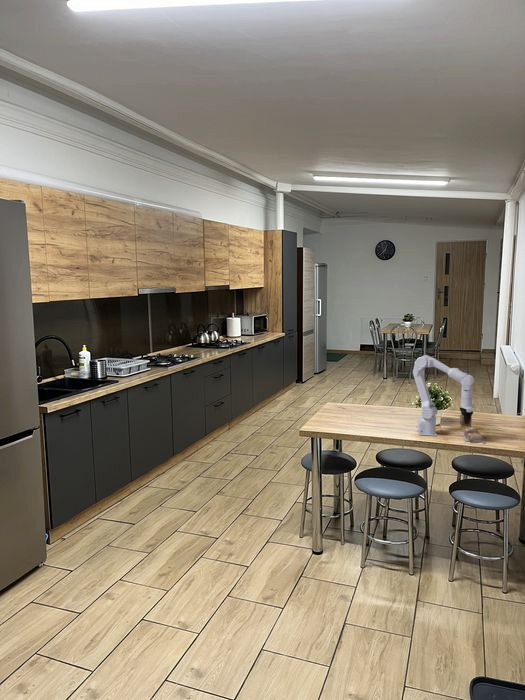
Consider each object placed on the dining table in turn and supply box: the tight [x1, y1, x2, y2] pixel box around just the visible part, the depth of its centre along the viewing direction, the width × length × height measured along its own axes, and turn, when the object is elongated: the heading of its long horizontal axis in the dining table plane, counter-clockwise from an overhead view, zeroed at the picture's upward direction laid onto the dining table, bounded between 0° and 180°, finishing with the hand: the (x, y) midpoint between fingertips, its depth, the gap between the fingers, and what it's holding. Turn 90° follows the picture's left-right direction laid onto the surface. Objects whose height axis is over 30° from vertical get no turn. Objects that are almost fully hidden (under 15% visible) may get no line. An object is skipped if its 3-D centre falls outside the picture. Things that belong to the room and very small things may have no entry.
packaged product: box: [460, 426, 486, 445], centre depth 297 cm, size 18×5×10 cm
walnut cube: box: [459, 414, 472, 428], centre depth 294 cm, size 5×5×5 cm
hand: (465, 422), depth 294 cm, fingers closed on walnut cube, 5 cm apart
